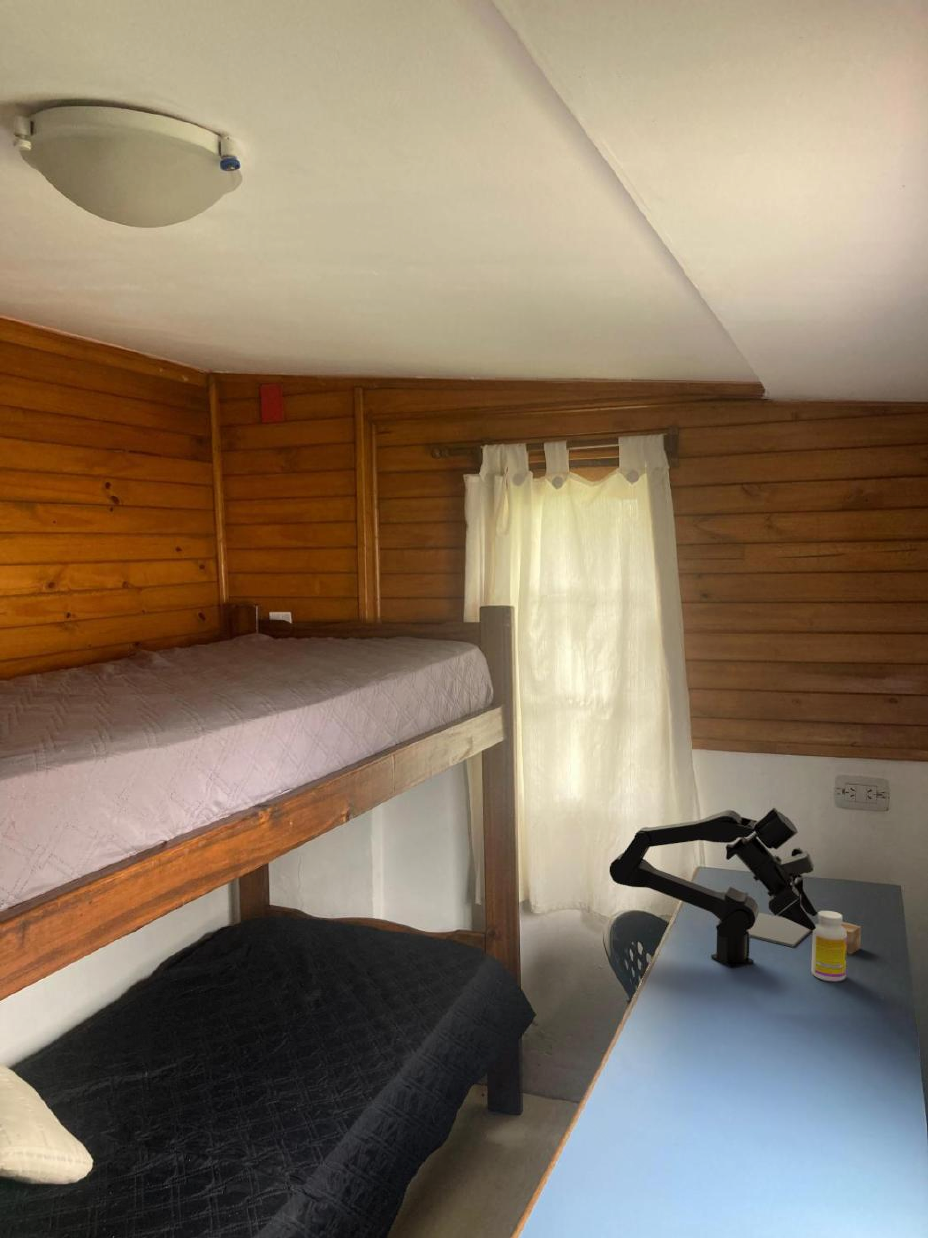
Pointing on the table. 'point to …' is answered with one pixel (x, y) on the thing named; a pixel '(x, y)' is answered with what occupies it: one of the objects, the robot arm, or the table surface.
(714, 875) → the table surface
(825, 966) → the supplement bottle
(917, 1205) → the table surface
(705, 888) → the robot arm
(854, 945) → the light brown cube
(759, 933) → the mat
